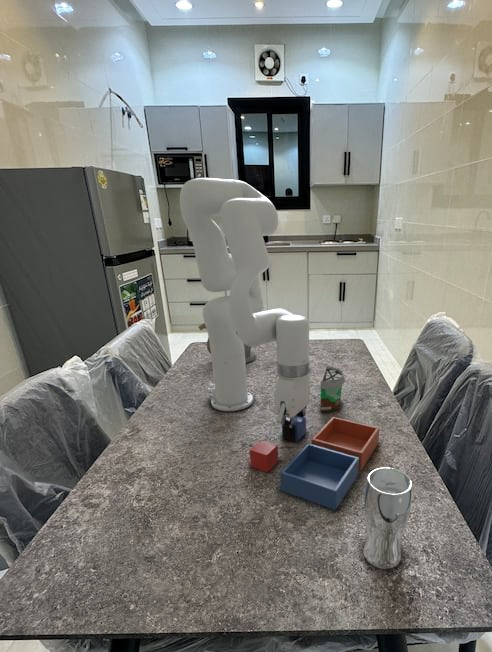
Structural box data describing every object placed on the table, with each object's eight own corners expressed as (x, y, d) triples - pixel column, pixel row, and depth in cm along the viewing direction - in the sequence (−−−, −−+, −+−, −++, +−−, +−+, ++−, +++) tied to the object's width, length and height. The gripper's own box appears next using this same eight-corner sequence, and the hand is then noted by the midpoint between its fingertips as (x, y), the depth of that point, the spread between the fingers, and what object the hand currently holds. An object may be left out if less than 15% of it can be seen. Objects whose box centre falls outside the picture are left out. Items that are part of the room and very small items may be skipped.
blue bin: (280, 490, 78) (280, 472, 77) (307, 459, 88) (307, 443, 86) (335, 510, 73) (336, 491, 71) (358, 475, 83) (359, 457, 81)
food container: (341, 416, 107) (343, 383, 103) (320, 414, 108) (320, 381, 104) (345, 397, 118) (346, 367, 114) (325, 395, 119) (326, 365, 115)
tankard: (254, 353, 157) (252, 317, 151) (253, 363, 146) (250, 325, 140) (205, 354, 156) (201, 318, 150) (200, 365, 145) (195, 327, 139)
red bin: (311, 455, 90) (311, 439, 88) (332, 431, 99) (333, 416, 98) (361, 470, 84) (362, 453, 82) (378, 443, 94) (379, 427, 92)
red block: (250, 466, 86) (249, 449, 84) (261, 456, 90) (260, 440, 88) (267, 472, 84) (266, 455, 82) (278, 461, 88) (277, 445, 86)
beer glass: (356, 539, 66) (361, 467, 60) (395, 536, 67) (404, 465, 61) (366, 573, 60) (373, 497, 54) (410, 570, 61) (421, 494, 54)
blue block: (282, 436, 97) (281, 421, 96) (290, 428, 101) (290, 413, 99) (297, 441, 95) (297, 425, 94) (306, 433, 99) (306, 417, 97)
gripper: (296, 354, 99) (297, 416, 106) (260, 377, 86) (263, 446, 93) (322, 359, 96) (321, 423, 103) (289, 383, 82) (290, 455, 90)
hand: (294, 433), depth 98 cm, fingers closed on blue block, 4 cm apart
